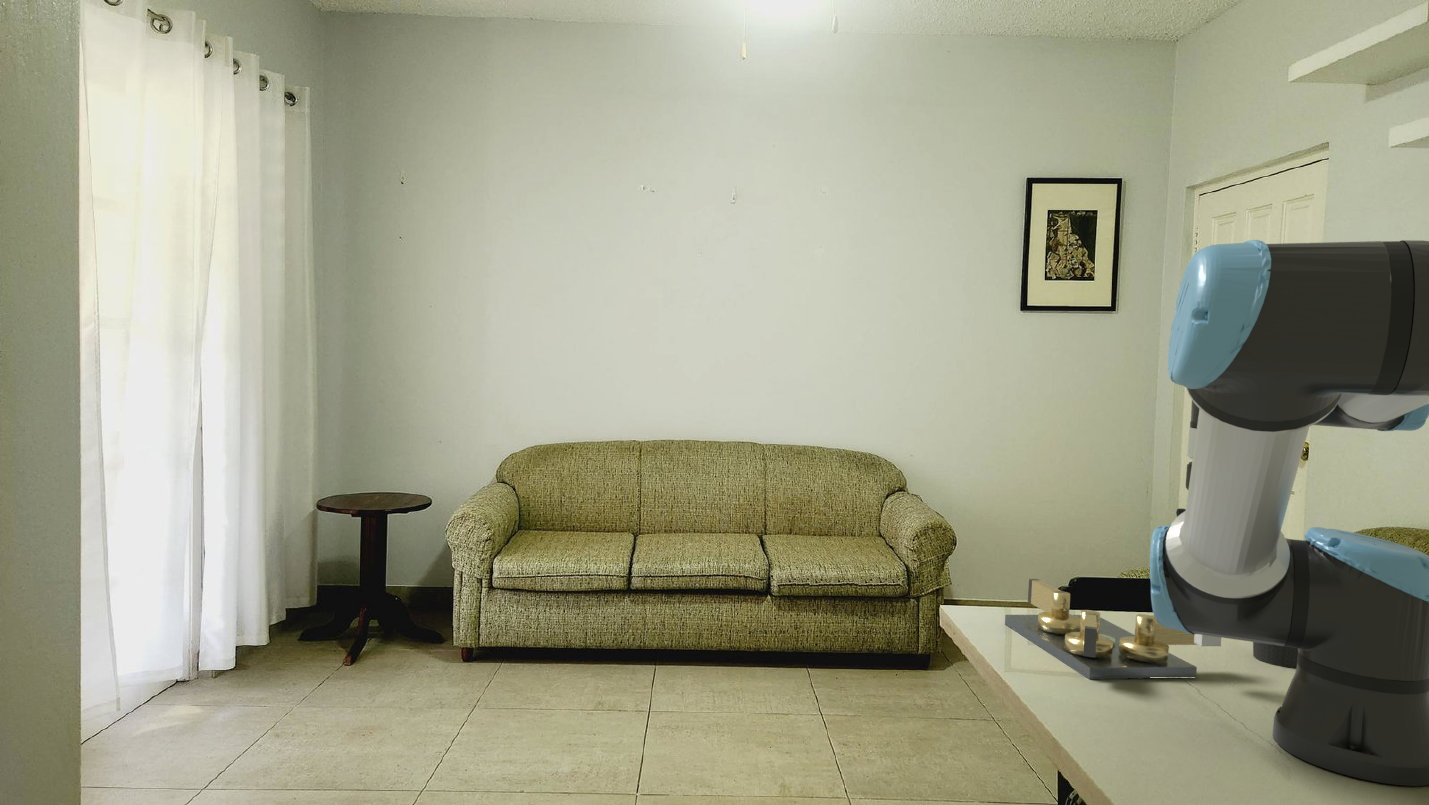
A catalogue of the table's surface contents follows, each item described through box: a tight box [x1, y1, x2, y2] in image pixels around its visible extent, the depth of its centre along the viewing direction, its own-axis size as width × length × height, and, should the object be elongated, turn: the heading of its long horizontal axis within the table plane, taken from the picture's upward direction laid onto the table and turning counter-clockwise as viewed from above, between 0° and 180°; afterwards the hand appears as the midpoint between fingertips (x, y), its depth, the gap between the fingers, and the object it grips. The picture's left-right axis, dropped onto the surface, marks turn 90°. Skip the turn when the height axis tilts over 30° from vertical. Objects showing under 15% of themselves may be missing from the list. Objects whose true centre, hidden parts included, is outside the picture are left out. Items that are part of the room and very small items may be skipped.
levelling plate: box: [1004, 614, 1198, 680], centre depth 131 cm, size 24×15×2 cm, turn 8°
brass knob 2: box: [1064, 609, 1113, 658], centre depth 122 cm, size 12×6×5 cm, turn 158°
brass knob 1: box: [1027, 578, 1081, 634], centre depth 137 cm, size 12×6×5 cm, turn 8°
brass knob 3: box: [1119, 613, 1199, 662], centre depth 124 cm, size 12×6×5 cm, turn 98°
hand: (1207, 644), depth 119 cm, fingers closed
